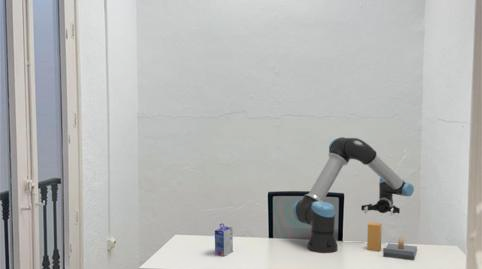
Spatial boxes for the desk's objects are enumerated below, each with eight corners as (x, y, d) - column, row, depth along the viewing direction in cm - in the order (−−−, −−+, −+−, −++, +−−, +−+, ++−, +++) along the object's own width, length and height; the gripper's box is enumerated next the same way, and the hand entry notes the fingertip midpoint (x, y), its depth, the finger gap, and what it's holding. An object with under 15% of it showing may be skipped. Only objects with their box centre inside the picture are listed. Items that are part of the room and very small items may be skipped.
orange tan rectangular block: (367, 249, 236) (367, 224, 235) (369, 247, 241) (369, 222, 241) (379, 251, 233) (379, 225, 233) (381, 248, 238) (381, 223, 238)
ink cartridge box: (223, 250, 231) (223, 221, 231) (233, 251, 228) (233, 222, 228) (214, 255, 222) (214, 225, 222) (224, 256, 219) (224, 226, 219)
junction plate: (383, 256, 224) (383, 242, 223) (388, 247, 242) (388, 233, 242) (413, 260, 218) (414, 245, 218) (416, 250, 236) (417, 236, 236)
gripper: (406, 213, 260) (402, 220, 241) (361, 210, 270) (354, 216, 251) (406, 200, 260) (402, 206, 240) (361, 197, 270) (354, 202, 251)
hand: (378, 211), depth 246 cm, fingers open, 13 cm apart
